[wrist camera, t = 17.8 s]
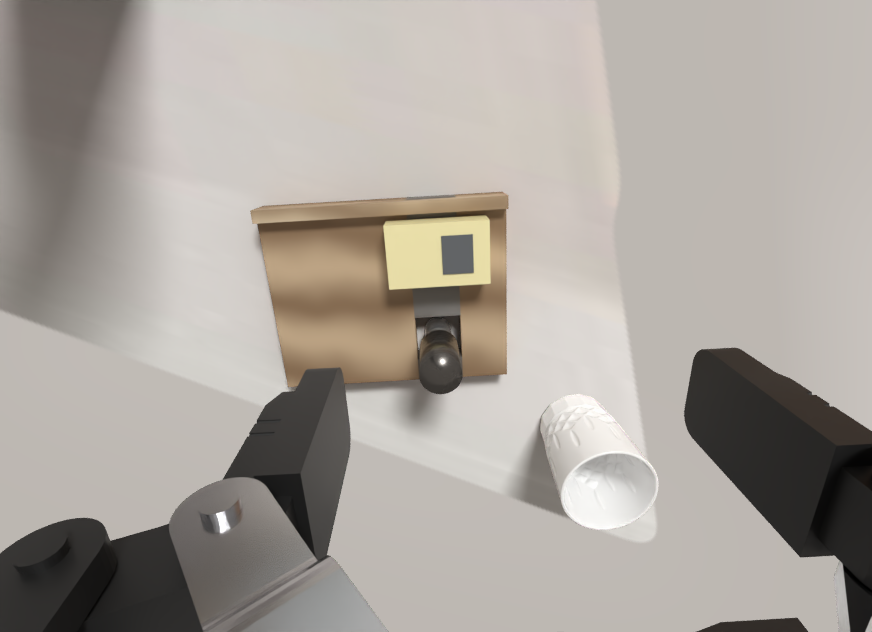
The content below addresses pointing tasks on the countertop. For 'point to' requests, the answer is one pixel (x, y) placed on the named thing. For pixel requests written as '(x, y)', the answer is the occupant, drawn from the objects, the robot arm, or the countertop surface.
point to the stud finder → (438, 252)
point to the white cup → (596, 465)
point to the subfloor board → (374, 288)
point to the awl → (439, 358)
